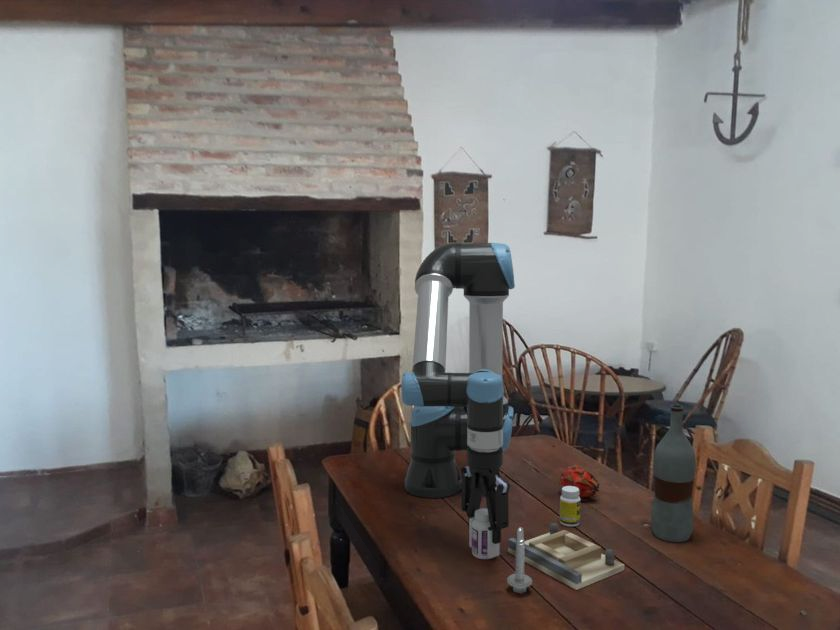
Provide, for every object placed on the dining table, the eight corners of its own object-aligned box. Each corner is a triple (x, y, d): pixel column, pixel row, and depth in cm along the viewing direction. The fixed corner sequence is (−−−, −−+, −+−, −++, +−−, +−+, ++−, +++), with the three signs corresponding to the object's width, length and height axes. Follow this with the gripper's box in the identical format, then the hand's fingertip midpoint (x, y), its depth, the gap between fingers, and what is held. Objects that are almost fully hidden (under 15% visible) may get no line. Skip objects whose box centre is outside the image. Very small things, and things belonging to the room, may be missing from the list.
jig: (507, 552, 164) (508, 534, 163) (554, 535, 172) (554, 519, 171) (576, 590, 148) (576, 570, 147) (624, 570, 156) (624, 551, 155)
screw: (509, 596, 145) (504, 584, 150) (534, 595, 146) (528, 583, 150) (510, 532, 143) (505, 522, 148) (535, 531, 144) (530, 521, 148)
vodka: (701, 541, 168) (707, 410, 164) (662, 545, 167) (667, 412, 162) (679, 524, 177) (685, 399, 173) (643, 527, 176) (647, 401, 172)
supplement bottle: (580, 527, 176) (580, 493, 175) (559, 526, 177) (560, 491, 176) (579, 519, 181) (580, 485, 179) (559, 518, 182) (560, 484, 180)
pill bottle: (499, 550, 164) (499, 508, 163) (493, 561, 159) (493, 518, 158) (475, 547, 166) (475, 505, 165) (468, 558, 161) (468, 514, 160)
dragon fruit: (562, 493, 201) (595, 514, 192) (545, 481, 196) (579, 503, 186) (578, 466, 202) (613, 485, 193) (562, 453, 197) (597, 473, 187)
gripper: (444, 439, 164) (444, 539, 168) (500, 462, 150) (499, 572, 153) (471, 432, 169) (470, 531, 172) (528, 455, 154) (526, 562, 157)
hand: (484, 550), depth 163 cm, fingers closed on pill bottle, 5 cm apart
